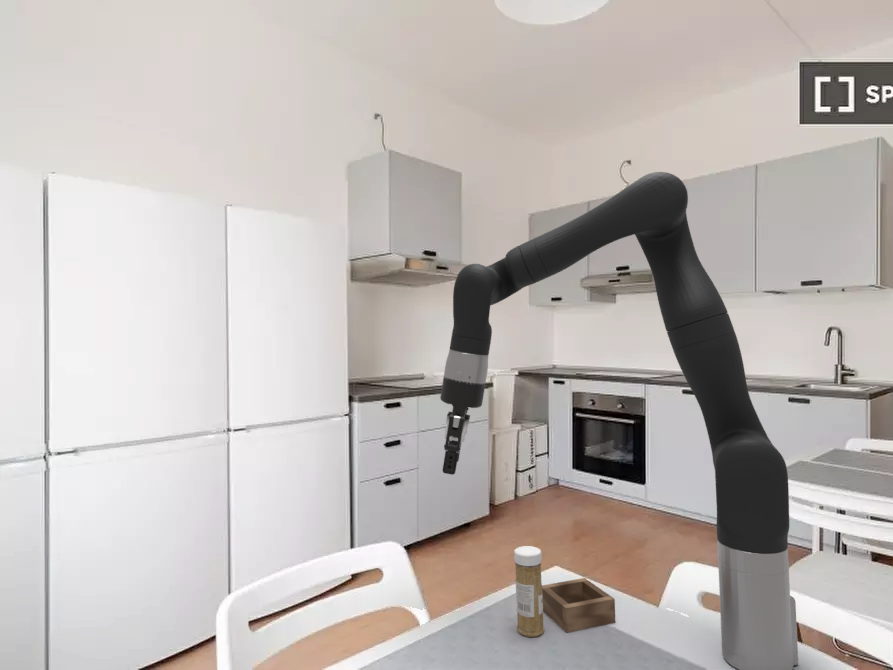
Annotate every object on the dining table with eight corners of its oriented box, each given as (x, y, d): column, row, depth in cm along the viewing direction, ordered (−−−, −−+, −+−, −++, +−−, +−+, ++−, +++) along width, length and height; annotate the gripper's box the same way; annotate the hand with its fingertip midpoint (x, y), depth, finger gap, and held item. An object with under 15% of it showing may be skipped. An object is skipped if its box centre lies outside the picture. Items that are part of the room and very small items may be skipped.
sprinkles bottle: (550, 632, 92) (547, 550, 93) (529, 641, 90) (526, 556, 90) (531, 621, 96) (528, 543, 96) (510, 629, 94) (508, 548, 94)
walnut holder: (585, 599, 104) (584, 577, 104) (615, 622, 95) (614, 598, 95) (540, 608, 101) (539, 585, 101) (566, 632, 92) (565, 608, 92)
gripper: (485, 385, 91) (469, 482, 92) (486, 377, 106) (472, 461, 106) (440, 378, 92) (424, 474, 93) (447, 370, 106) (434, 454, 107)
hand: (450, 467), depth 99 cm, fingers open, 8 cm apart
